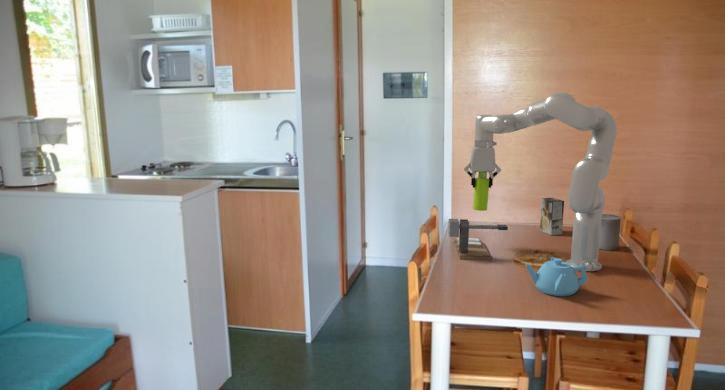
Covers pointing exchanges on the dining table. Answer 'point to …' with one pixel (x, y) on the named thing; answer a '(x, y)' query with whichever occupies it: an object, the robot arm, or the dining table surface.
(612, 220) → the pillar candle
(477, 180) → the soap dispenser
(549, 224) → the coffee box
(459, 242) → the base
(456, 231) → the lever
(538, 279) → the teapot
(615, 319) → the dining table surface
